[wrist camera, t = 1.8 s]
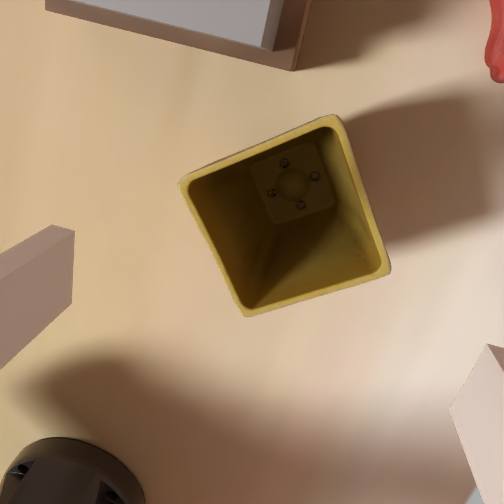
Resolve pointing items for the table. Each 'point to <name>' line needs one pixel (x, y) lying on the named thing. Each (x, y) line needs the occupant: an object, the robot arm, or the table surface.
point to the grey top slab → (207, 17)
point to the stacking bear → (496, 42)
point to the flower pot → (288, 218)
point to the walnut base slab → (281, 57)
